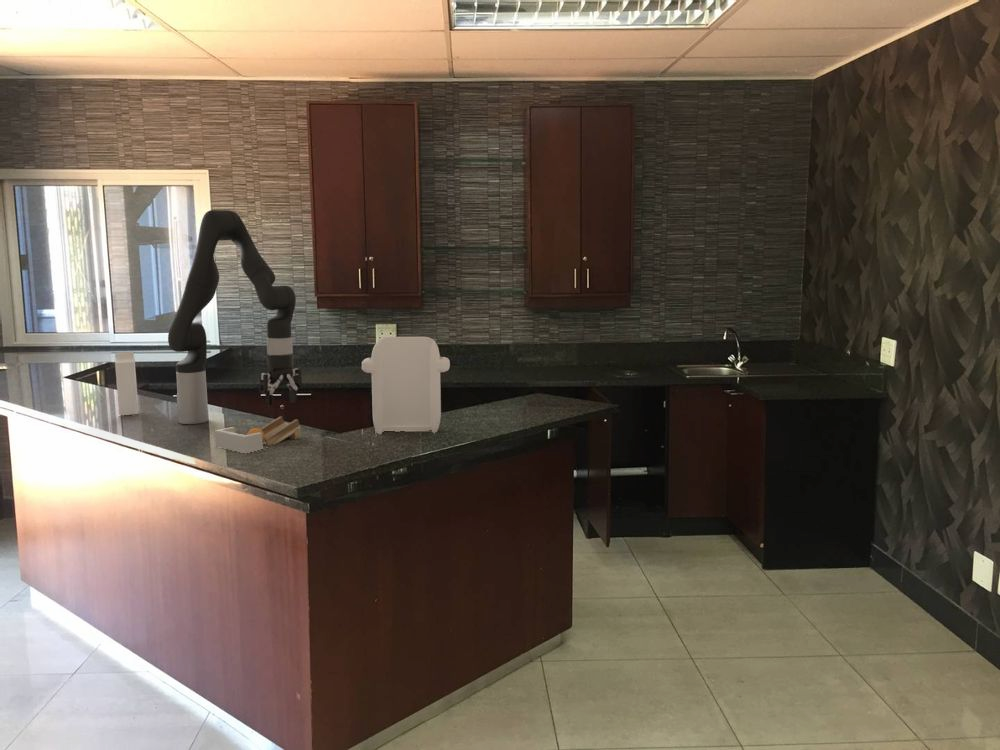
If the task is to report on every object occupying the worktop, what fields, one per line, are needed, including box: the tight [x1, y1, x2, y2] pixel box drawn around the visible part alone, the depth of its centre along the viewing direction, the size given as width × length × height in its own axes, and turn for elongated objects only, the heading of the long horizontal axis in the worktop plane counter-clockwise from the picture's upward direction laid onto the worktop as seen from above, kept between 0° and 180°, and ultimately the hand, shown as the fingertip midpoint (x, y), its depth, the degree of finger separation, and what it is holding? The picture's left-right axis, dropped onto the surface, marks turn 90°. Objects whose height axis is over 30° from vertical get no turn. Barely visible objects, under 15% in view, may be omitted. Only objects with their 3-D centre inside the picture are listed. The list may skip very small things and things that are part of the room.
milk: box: [114, 351, 139, 416], centre depth 290 cm, size 6×6×22 cm
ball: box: [246, 427, 264, 441], centre depth 246 cm, size 5×5×5 cm
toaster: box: [361, 336, 451, 435], centre depth 262 cm, size 27×11×30 cm, turn 92°
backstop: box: [214, 426, 264, 455], centre depth 242 cm, size 14×6×5 cm, turn 53°
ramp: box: [260, 415, 302, 446], centre depth 252 cm, size 8×13×7 cm, turn 144°
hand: (281, 404), depth 253 cm, fingers open, 8 cm apart
